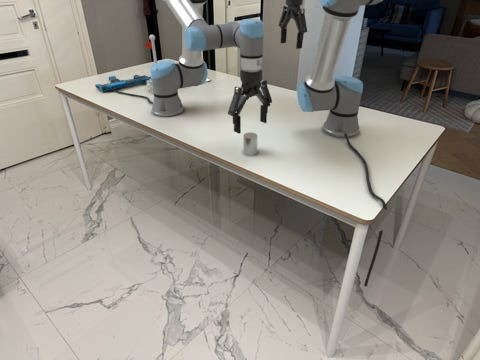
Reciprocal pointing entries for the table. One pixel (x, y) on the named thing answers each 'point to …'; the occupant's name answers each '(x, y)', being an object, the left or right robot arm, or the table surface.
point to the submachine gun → (122, 82)
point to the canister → (250, 144)
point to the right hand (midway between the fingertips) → (290, 45)
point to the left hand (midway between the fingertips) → (250, 127)
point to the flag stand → (152, 46)
